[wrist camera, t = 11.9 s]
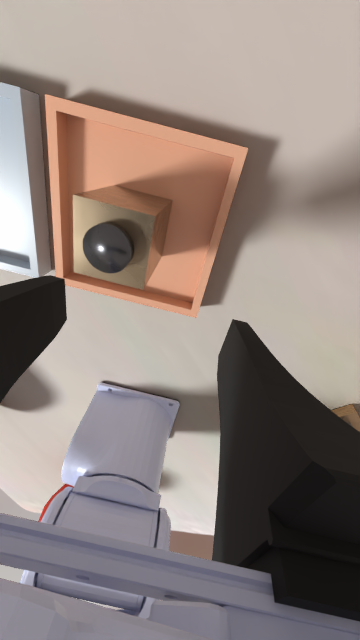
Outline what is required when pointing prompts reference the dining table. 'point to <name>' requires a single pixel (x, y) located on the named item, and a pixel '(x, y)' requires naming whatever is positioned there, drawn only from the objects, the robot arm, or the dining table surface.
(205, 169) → the terracotta tray
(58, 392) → the dining table surface
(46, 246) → the blue-grey tray
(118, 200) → the wooden block with knob
